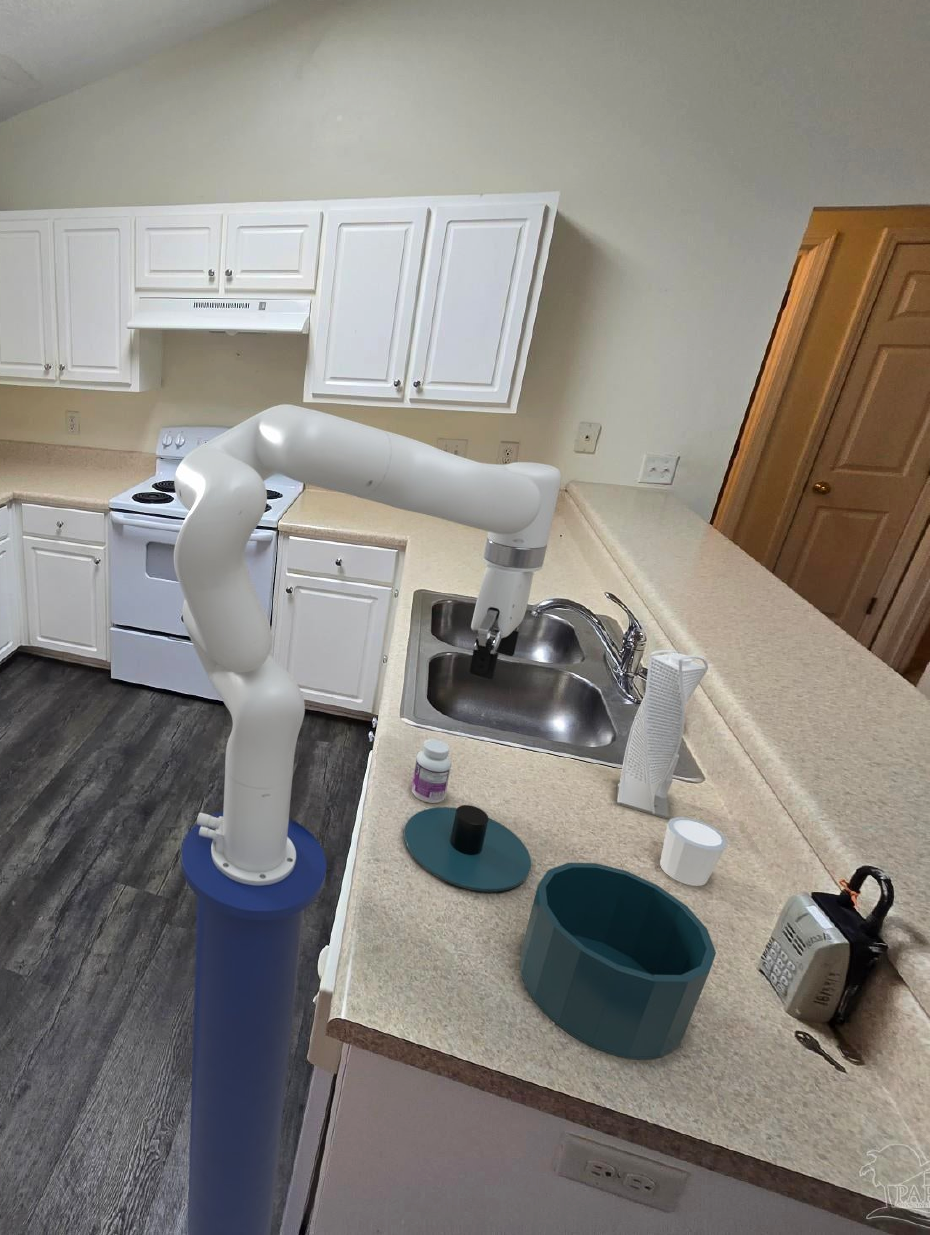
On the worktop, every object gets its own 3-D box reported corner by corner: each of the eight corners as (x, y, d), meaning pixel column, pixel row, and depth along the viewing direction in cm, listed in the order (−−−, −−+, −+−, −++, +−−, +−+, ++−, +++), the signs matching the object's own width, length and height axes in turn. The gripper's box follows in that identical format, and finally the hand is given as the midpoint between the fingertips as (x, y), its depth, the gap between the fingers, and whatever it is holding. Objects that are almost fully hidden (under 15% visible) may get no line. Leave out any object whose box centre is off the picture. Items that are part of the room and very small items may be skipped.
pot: (522, 1024, 77) (544, 948, 73) (517, 916, 91) (534, 847, 87) (701, 1084, 71) (735, 1005, 67) (665, 959, 85) (692, 887, 81)
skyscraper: (668, 824, 109) (722, 664, 98) (608, 806, 113) (654, 651, 102) (666, 795, 116) (716, 643, 105) (609, 780, 119) (652, 631, 109)
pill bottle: (415, 780, 119) (423, 732, 115) (447, 790, 116) (457, 741, 113) (407, 797, 115) (415, 748, 111) (441, 808, 112) (450, 758, 108)
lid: (397, 872, 99) (403, 835, 96) (409, 801, 114) (414, 767, 111) (532, 910, 92) (543, 872, 90) (526, 830, 107) (535, 795, 105)
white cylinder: (666, 884, 97) (680, 844, 94) (647, 851, 103) (659, 812, 101) (722, 893, 96) (738, 853, 93) (699, 859, 102) (713, 820, 99)
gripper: (504, 535, 105) (484, 638, 111) (465, 562, 92) (445, 676, 99) (559, 545, 100) (535, 652, 106) (525, 575, 88) (500, 694, 94)
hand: (492, 664), depth 102 cm, fingers open, 9 cm apart
